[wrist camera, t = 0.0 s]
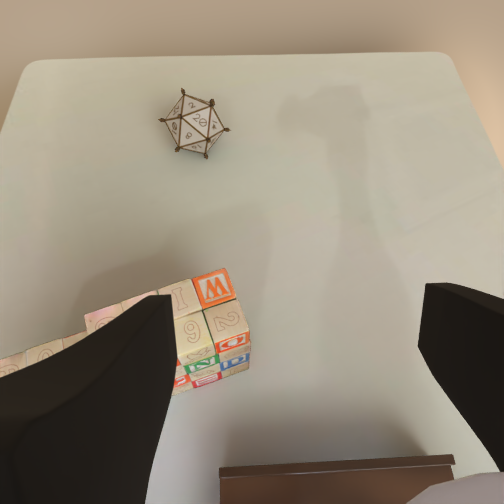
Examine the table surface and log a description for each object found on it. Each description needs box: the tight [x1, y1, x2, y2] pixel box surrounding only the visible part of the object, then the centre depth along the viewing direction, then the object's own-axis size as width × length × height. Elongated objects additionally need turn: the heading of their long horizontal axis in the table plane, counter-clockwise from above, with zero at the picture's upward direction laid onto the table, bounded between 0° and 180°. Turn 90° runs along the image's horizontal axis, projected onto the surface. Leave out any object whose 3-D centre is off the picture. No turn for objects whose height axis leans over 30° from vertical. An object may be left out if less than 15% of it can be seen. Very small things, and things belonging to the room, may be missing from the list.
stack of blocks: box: [0, 268, 251, 396], centre depth 37 cm, size 21×6×12 cm, turn 111°
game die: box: [158, 88, 231, 159], centre depth 55 cm, size 9×8×10 cm
